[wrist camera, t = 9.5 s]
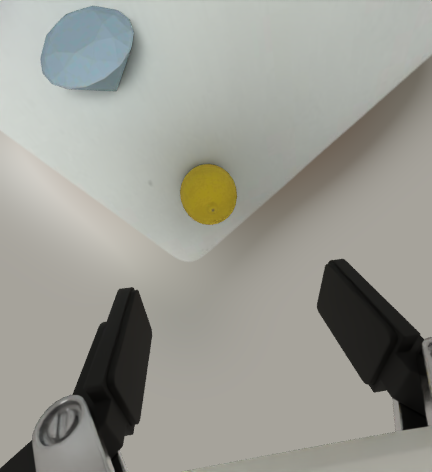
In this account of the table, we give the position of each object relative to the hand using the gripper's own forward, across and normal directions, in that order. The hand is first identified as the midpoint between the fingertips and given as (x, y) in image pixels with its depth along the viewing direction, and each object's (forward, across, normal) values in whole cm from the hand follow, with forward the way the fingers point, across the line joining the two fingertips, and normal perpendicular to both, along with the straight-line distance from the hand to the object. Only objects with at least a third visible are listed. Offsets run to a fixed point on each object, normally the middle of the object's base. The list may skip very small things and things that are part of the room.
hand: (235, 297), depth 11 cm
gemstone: (+18, +8, -12) cm, 23 cm away
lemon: (+18, 0, 0) cm, 18 cm away
